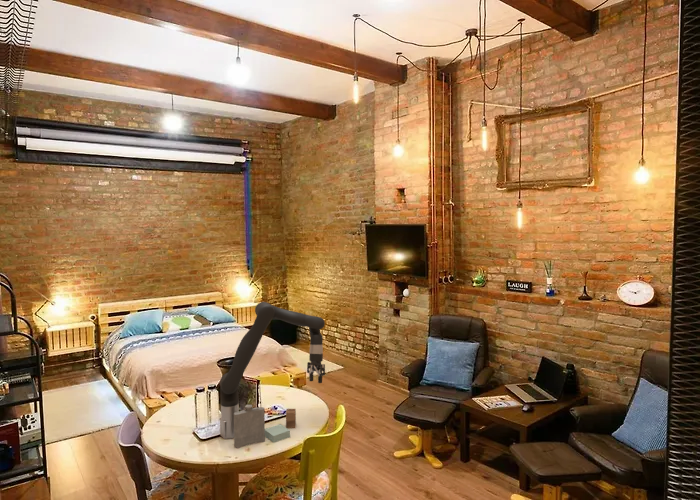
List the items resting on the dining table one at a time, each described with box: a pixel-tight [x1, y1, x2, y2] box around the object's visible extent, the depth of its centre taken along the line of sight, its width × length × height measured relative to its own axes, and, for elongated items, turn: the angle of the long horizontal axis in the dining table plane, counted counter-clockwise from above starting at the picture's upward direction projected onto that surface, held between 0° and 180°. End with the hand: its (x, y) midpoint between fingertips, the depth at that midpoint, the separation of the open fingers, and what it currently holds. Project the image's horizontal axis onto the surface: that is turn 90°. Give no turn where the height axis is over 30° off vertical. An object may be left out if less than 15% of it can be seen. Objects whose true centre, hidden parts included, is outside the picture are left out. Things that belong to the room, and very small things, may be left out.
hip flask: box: [233, 404, 266, 449], centre depth 239 cm, size 16×4×20 cm, turn 119°
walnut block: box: [285, 408, 297, 429], centre depth 259 cm, size 5×5×9 cm
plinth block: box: [265, 423, 291, 444], centre depth 247 cm, size 10×10×4 cm
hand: (315, 382), depth 259 cm, fingers open, 8 cm apart
